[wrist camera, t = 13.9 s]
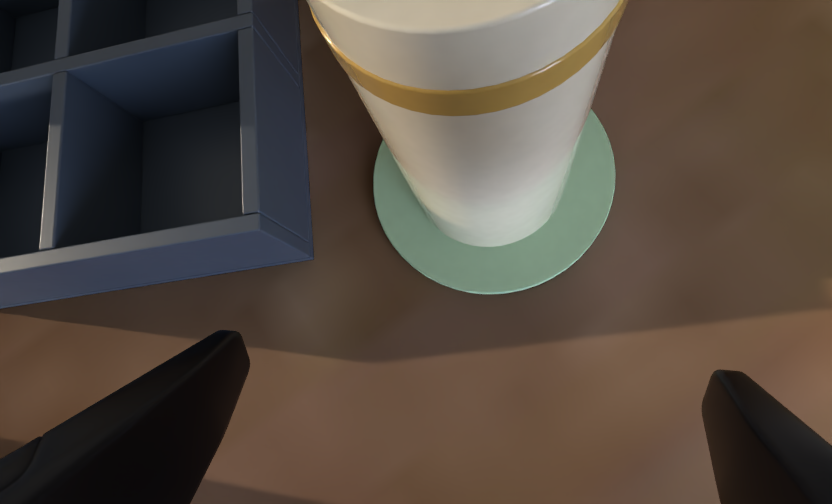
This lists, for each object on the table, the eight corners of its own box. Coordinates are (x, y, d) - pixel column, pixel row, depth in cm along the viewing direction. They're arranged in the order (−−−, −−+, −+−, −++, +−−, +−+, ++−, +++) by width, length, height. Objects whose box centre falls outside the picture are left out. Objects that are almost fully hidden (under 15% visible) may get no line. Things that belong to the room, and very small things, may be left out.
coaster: (558, 335, 17) (559, 334, 17) (337, 239, 19) (334, 237, 19) (649, 111, 18) (652, 106, 18) (431, 46, 20) (430, 40, 20)
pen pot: (509, 279, 17) (512, 107, 6) (384, 196, 19) (190, -68, 7) (598, 151, 18) (767, -246, 6) (469, 81, 19) (411, -340, 8)
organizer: (314, 259, 19) (259, 230, 15) (-16, 311, 22) (-143, 298, 17) (294, -57, 23) (246, -151, 19) (15, 16, 25) (-84, -54, 21)
